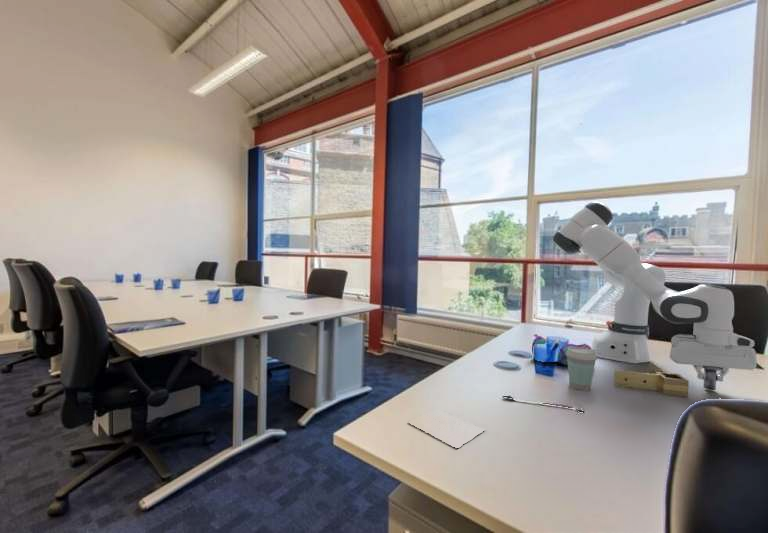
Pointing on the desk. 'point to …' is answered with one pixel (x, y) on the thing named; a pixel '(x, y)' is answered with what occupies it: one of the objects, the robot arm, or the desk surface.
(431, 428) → the desk surface
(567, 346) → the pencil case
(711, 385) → the hinge pin
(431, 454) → the desk surface
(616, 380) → the hinge
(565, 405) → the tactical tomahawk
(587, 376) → the coffee cup
